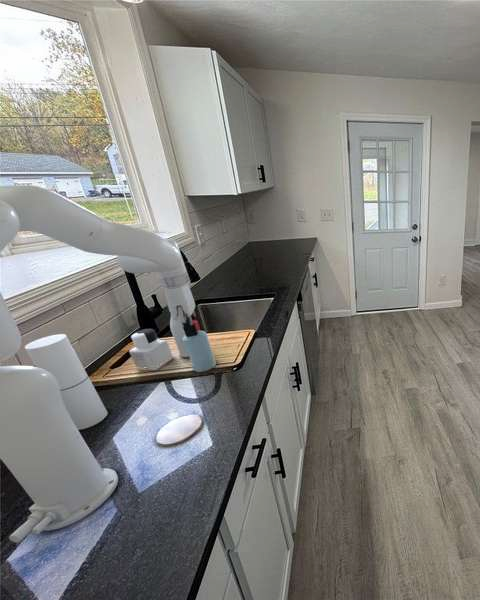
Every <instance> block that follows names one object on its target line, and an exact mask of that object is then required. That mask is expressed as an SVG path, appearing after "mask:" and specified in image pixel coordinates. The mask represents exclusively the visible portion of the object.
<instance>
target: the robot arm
mask: <svg viewBox="0 0 480 600" xmlns="http://www.w3.org/2000/svg"><path fill="white" fill-rule="evenodd" d="M19 232H20V233H21V232H34V233H38V234H41V235H42V236H45V237H48V238H50V239H53V240H55V241H58V242H60V243H63V244H65V245H68V246H70V247H73V248H75V249H78V250H80V251H82V252H85V253H90V254H94V255H95V254H96V255H102V256H103V255H104V256H117V257H116V261H117V265H118V267H119V268H120V269H122V270H123V271H125V272H127V273H130V274H150V273H151V274H152V273H155V274H156V278H157V280H158V282H159V284H160V287H161V289H162V290H164V294H165V299H166V303H167V307H168V306H169V309H170V311H169V312H170V316H171V315H172V318H173V319H177V317H178V315H179V321H180V323H181V324H182V327H183V329H184V332H185V335H186V337H191V336H196V335H198V332H197V330H196V327H195V324H193V322H192V320H194V319H195V320H197V322H198V325H199V328H200V329H201V325H200V323H199V320H198V318H197V314H196V311H195V309H196V302H195V299H194V297H193V293H192V290H191V288H190V285H189V284H190V283H191V279H190V277H189V274H188V270H187V268H186V265H185V261H184V259H183V256H182V254H181V250H180V248H179V244H178V242H177V241H176V240H175V239H173V238H163V237H161V236H159V235H158V234H156V233H153V232H150V231H148V230H145V229H141V228H137V227H133V226H131V225H127V224H123V223H120V222H116V221H113V220H112V221H111V220H108V219H106V218H104V217H102V216H100V215H98V214H96V213H95V212H93V211H91V210H89V209H87V208H85V207H84V206H81V204H78V203H76V202H74V201H73V200H70V199H68V198H67V197H65V196H63V195H61V194H59V193H57V192H55V191H54V190H52V189H49V188H47V187H45V186H41V185H36V184H16V185H0V254H1V253H2V252H3V251H4V249H5V248H6V247H7V246H8V245H10V243H11V242H12V241H14V239H15V238H16V237H17V235H18V233H19ZM169 309H168V310H169ZM184 315H185V316H184ZM185 318H186V319H185ZM21 345H22V335H21V332H20V329H19V327H18V325H17V323H16V320H15V319H14V317H13V315H12V312H11V310H10V308H9V307H8V305H7V302H6V300H5V298H4V297H3V294H2V292H1V291H0V362H4V361H6V360H8V359H10V358H11V357H13V356H14V355H16V354H17V353H18V352H19V350H20V348H21ZM0 460H1V461H2V463H3V464H4V466H6V467H7V469H8V470H9V472H10V473H11V474H12V475H13V477H14V479H16V481H17V482H18V483H19V485H20V486H21V487H22V488H23V490H24V491H25V493H26V494H27V495H28V496H29V498H30V499H31V500H32V501H33V503H32V505H31V506H29V508H28V510H29V512H30V513H31V514H30V515H29V516H27V520H26V521H25V522H24V523H23V524H21V525H20V526H19V527H18V528H16V530H14V532H13V533H11V534H10V535H9V536H8V539H9V540H10V541H11V542H12V543H16V544H17V543H21V542H22V541H23V540H24V539H26V537H27V536H28V535H29V534H30V533H33V534H34V535H39V534H41V533H42V531H47V532H49V531H54V530H59V529H62V528H65V527H68V526H70V525H72V524H74V523H77V522H78V521H80V520H82V519H83V518H85V517H87V516H89V515H90V514H91V513H93V512H94V511H95V510H96V509H98V508H99V507H100V506H101V505H103V504H104V503H105V502H106V501H107V499H109V497H111V495H112V494H113V492H114V491H115V489H116V487H118V483H119V476H118V474H117V472H116V471H115V469H111V468H107V467H104V468H102V467H101V466H100V464H99V462H98V461H97V459H96V458H95V456H94V454H93V453H92V451H91V449H90V447H89V445H88V444H87V443H86V441H85V439H84V437H83V435H82V434H81V432H80V431H79V430H78V429H77V428H76V426H75V424H74V423H73V421H72V419H71V418H70V416H69V414H68V412H67V410H66V408H65V405H64V403H63V400H62V396H61V391H60V387H59V384H58V381H57V379H56V378H55V377H54V376H53V375H52V374H51V373H50V372H48V371H46V370H44V369H41V368H38V367H36V366H32V365H5V366H3V365H2V366H0Z"/></svg>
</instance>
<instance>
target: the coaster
mask: <svg viewBox="0 0 480 600" xmlns="http://www.w3.org/2000/svg"><path fill="white" fill-rule="evenodd" d="M202 426H203V419H202V417H201V416H200V415H198V414H187V415H182V416H180V417H177V418H174V419H172V420H171V421H169V422H167V423H166V424H165V425H164V426H162V427H161V429H159V431H158V432H157V434H156V435H155V441H156V443H157V444H158V445H159V446H161V447H170V446H171V447H172V446H175V445H179V444H181V443H183V442H185V441H187V440H188V439H189V440H190V438H192V437H193V436H194V435H196V434H197V433H198V432H199V430H200V429H201V428H202Z"/></svg>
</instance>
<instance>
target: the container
mask: <svg viewBox="0 0 480 600" xmlns="http://www.w3.org/2000/svg"><path fill="white" fill-rule="evenodd" d="M130 338H131V340H132V343H133V345H134V347H133V348H131V349H130V350H129V351H128V352H129V354H130V357H131V359H132V361H133V363H134V365H135V368H136V367H147V368H136V370H140V371H141V370H142V371H158V370H159V369H160V368H162V367H163V366H164V365H166V364H167V363H169V362H171V361H172V360H173V359H174V355H173V353H172V351H171V349H170V346H169V343H168V340H166V339H159V337H158V335H157V333H156V330H155V329H153V328H144V329H140V330H138V331H136V332H134V333H133V334H132V335H131V336H130ZM166 360H167V361H166ZM163 362H164V363H163ZM161 363H162V364H161ZM160 364H161V365H160ZM157 366H158V367H157Z"/></svg>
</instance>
